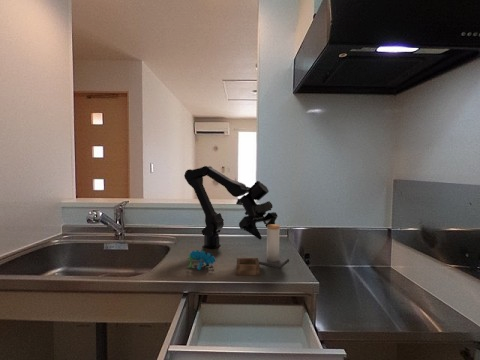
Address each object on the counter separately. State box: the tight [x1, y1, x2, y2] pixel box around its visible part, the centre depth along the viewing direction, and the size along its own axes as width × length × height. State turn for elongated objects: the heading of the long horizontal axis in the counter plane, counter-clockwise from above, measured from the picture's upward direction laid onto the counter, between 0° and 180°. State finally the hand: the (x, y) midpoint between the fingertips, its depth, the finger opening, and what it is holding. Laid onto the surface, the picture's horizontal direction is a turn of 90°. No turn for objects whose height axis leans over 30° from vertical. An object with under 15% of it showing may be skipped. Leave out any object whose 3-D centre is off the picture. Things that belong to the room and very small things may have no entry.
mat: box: [258, 253, 290, 269], centre depth 113 cm, size 10×10×1 cm
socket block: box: [235, 257, 260, 276], centre depth 103 cm, size 8×8×4 cm
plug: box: [266, 223, 281, 262], centre depth 113 cm, size 5×5×14 cm
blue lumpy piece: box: [187, 249, 216, 271], centre depth 105 cm, size 11×6×10 cm
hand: (268, 237), depth 114 cm, fingers open, 9 cm apart
